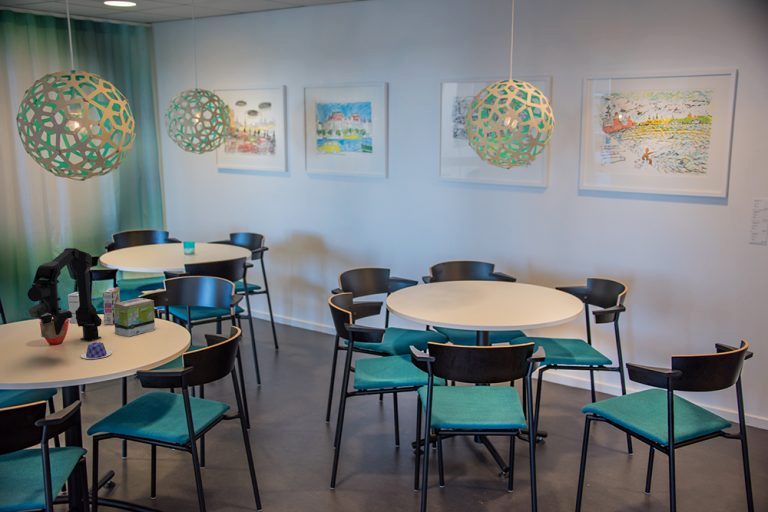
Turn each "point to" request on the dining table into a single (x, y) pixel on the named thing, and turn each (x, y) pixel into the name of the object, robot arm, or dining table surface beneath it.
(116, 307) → the tea box
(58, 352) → the dining table surface
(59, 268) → the robot arm
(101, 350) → the pudding
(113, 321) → the candy bar box
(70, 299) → the syrup box
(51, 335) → the walnut block
